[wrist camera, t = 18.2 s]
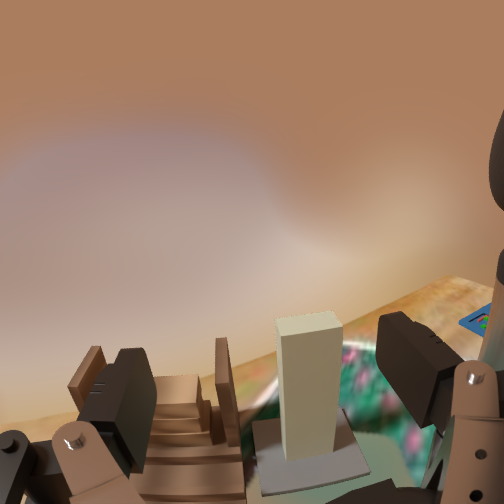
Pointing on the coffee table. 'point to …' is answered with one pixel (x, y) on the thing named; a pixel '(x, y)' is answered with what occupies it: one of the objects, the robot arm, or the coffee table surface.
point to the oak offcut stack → (181, 414)
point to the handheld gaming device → (477, 320)
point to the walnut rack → (186, 458)
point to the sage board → (308, 382)
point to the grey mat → (305, 460)
